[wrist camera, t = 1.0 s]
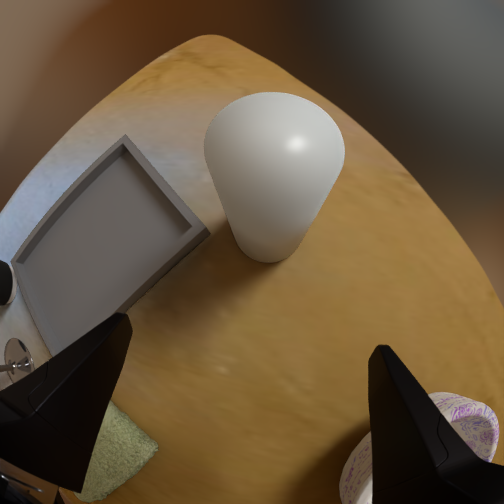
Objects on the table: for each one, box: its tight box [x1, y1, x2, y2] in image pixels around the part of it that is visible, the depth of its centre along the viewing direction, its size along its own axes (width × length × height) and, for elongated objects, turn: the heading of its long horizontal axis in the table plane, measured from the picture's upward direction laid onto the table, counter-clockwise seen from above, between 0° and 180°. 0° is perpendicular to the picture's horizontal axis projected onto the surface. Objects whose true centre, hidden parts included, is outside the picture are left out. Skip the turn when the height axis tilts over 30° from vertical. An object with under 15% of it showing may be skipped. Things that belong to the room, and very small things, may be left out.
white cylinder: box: [204, 92, 345, 263], centre depth 17 cm, size 6×6×13 cm
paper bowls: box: [339, 392, 499, 504], centre depth 15 cm, size 15×15×8 cm
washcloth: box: [74, 400, 158, 503], centre depth 18 cm, size 13×18×3 cm
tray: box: [11, 134, 210, 357], centre depth 23 cm, size 20×14×2 cm
